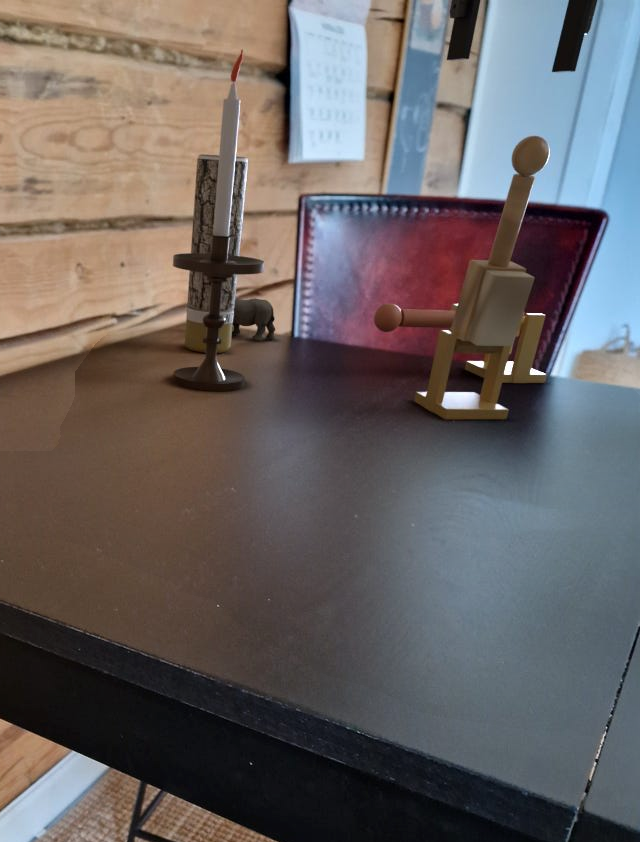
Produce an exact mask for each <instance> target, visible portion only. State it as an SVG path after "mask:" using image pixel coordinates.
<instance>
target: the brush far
mask: <svg viewBox="0 0 640 842" xmlns="http://www.w3.org/2000/svg"><path fill="white" fill-rule="evenodd" d="M451 304H452V305H451V308H450V310H445V309H444V310H443V309H441V310H440V309H409V308H408V309H403V308H400V307H399V306H398V305H397V304H395V303H391V302H387V303H384V304H382V305H380V306H379V307H378V308H377V309H376V311H375V313H374V315H373V321H374V325H375V327H376V328H377V330H379V331H381V332H384V333H390V332H393V331H395V330H396V329H397V328H399V327H400V328H437V329H438V328H440V329H441V328H442V329H447V330H449V331H451V327H452V323H453V320H454V316H455V313H456V309H457V306H458V303H451ZM525 314H526V313H525V311H524V313H523V316H522V319H521V322H520V325H519V328H518V331H517V334H516V337H520V334H521V330H522V326H523V323H524V319H525ZM516 337H515V338H516ZM514 344H515V342H514V343H513V346H511V349H510V353H509V355H512V351H513V349H514ZM470 354H472V355H473V354H474V355H475V354H477V355H479V354H481V355H485V354H489V353H470Z"/></svg>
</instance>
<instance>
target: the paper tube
mask: <svg viewBox="0 0 640 842" xmlns="http://www.w3.org/2000/svg"><path fill="white" fill-rule="evenodd" d="M218 164H219V154H203V153H202V154H198V156H197V159H196V172H195V185H194V188H195V189H194V201H193V218H192V231H191V245H190V253H206V254H211V242H212V236H209V235H206V234H204V233H213V227H214V215H215V202H216V190H217V177H218ZM248 166H249V159H248V157H245V156H236V159H235V170H234V182H233V193H232V205H231V216H230V227H229V234H232V235H237V236H236V237H230V238H229V249H228V255H234V256H240V253H241V252H240V251H241V241H242V240H241V239H242V230H243V219H244V210H245V209H244V208H245V200H246V189H247V177H248ZM188 274H189V275H188V289H187V303H186V305H187V306H186V320H185V335H184V345H185V347H186V348H187V349H188V350H190V351H193V352H196V353H197V352H198V353H203V354H206V343H203V342H202V339H203V338H206V333H207V327H205V326H204V324H203V321H202V319H203V317H204V316H205V315H207V314H209V306H210V293H211V282H210V281H208V280H206V277H205V276H204V275H202V274H201V272H196V271H189V273H188ZM237 283H238V275H236V274H235V276H234V277H231V278H228V281H227V282H224V283H222V293H221V305H220V315H222V316H223V317H224V318H225V323H224V325H223V327H222V328H219V338H218V339H221V340H222V343H221V344H217V352H216V354H221V353H225V352H228V351H229V350H230V348H231V346H232V345H231V343H232V336H233V335H232V331H233V329H232V324H233V316H234V305H235V297H236V293H237ZM231 335H232V336H231Z"/></svg>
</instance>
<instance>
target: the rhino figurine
mask: <svg viewBox="0 0 640 842" xmlns="http://www.w3.org/2000/svg"><path fill="white" fill-rule="evenodd" d="M274 312H275V311H274V307H273V305H272V304H271V302H269V300H267V299H260V298H250V299H242V298H239V297H237V296H235V305H234V316H233V324H232V335H231V337H233V336H239V335H240V334H241V330H240V327H251V326H254V325H255V326H256V327H257V329H256V332H255V334H254V335H253V336H252V337H251V340H252V341H256V342H258V341H263V339H264V338H263V335H264V334H265V333H266V330H267V332H268V333H267V334H266V336H265V340H267V341H273V340H276V338H275V331H276V327H275V325H274V321H275V315H274Z"/></svg>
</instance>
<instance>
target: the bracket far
mask: <svg viewBox="0 0 640 842" xmlns="http://www.w3.org/2000/svg"><path fill="white" fill-rule="evenodd" d="M524 316H525V319H524V323H523V326H522V329H520V333H519V338H518V342H517V347H516V351H515V353H514V359H513V361H507V365H506V369H505V373H504V377H503V381H502V384H546V381H547V377H548V374H547V373H544V372H542V371H539V370H538V369H535V368H533V365H534V360H535V357H536V353H537V349H538V346H539V342H540V337H541V334H542V331H543V327H544V322H545V319H546V314H543V313H531V312H529V313H528V312H526V313H525V314H524ZM489 357H490V354H484V358H483V360H466V363H465V366H464V370H465V371H467V372H470V373H472V374H474V375H476V376H479V378H480V377H481V378H483V379H484V378H485V373H486V369H487V365H488V361H489Z"/></svg>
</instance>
